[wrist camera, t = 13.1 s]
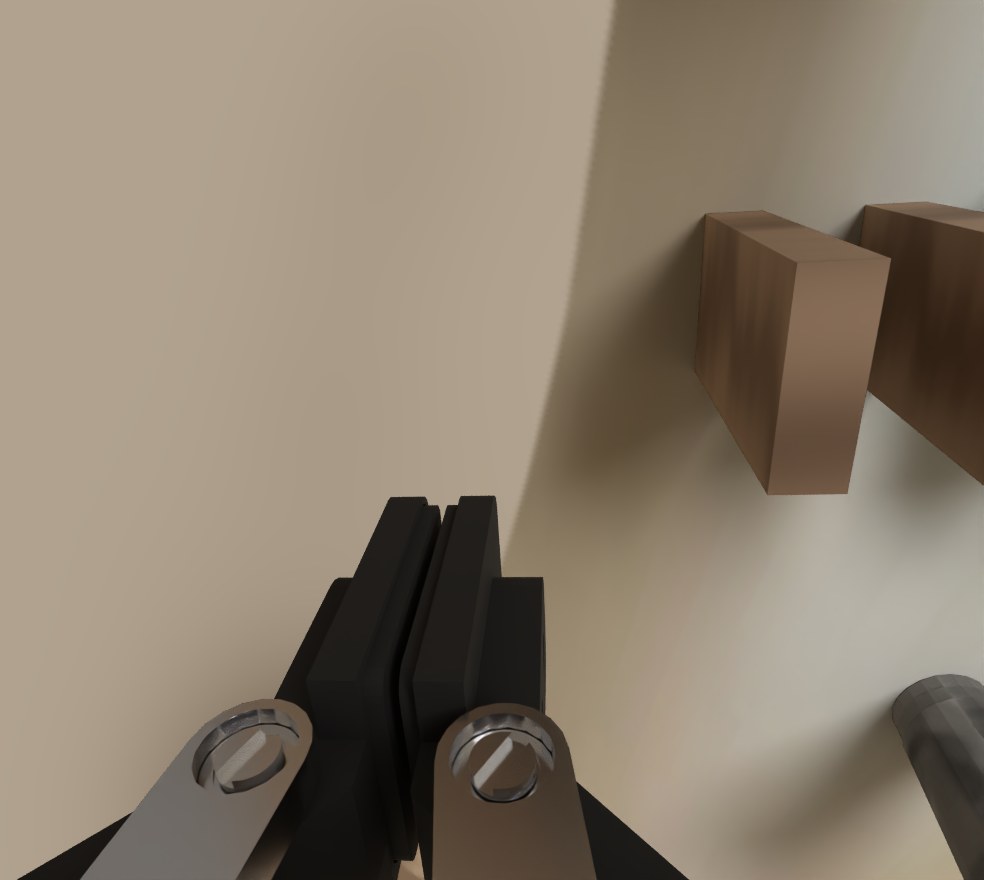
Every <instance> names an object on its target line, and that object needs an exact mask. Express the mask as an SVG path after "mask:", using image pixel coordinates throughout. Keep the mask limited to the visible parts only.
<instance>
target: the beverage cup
mask: <svg viewBox="0 0 984 880" xmlns="http://www.w3.org/2000/svg"><path fill="white" fill-rule="evenodd" d="M892 718H893V721H894V723H895V725H896V727H897V729H898V731H899V734H900V736H901V738H902V741H903V746H904V748H905V751H906V753H907V755H908V757H909V759H910V762H911V764H912V766H913V768H914V770H915V773H916V775H917V777H918V779H919V781H920V784H921V786H922V788H923V790H924V793H925V795H926V797H927V799H928V801H929V804H930V806H931V808H932V810H933V812H934V815H935V817H936V819H937V821H938V823H939V826H940V828H941V830H942V832H943V834H944V837H945V839H946V841H947V843H948V845H949V848H950V850H951V852H952V854H953V856H954V859H955V861H956V863H957V865H958V867H959V870H960V872H961V874H962V876H963V878H964V880H984V686H983V685H982V684H981V683H980V682H978V681H976V680H974V679H971V678H969V677H967V676H960V675H953V674H951V675H939V676H934V677H930V678H927V679H924V680H921V681H919V682H917V683H915V684H914V685H912V686H910V687H908V688H907V689H906V690H905V691H904V692H903V693H902V694H901V695H900V696H899V697H898V698H897V700H896V702H895V704H894V706H893V713H892Z"/></svg>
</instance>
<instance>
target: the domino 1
mask: <svg viewBox="0 0 984 880" xmlns="http://www.w3.org/2000/svg"><path fill="white" fill-rule="evenodd" d="M890 262H891V258H889V257H886V256H883V255H881V254H878V253H875V252H872V251H870V250H867V249H864V248H862V247H859V246H856V245H854V244H851V243H848V242H846V241H843V240H840V239H838V238H835V237H832V236H830V235H827V234H824V233H822V232H819V231H816V230H813V229H811V228H808V227H805V226H803V225H800V224H797V223H795V222H792V221H789V220H787V219H784V218H781V217H779V216H776V215H773V214H771V213H768V212H765V211H747V212H728V213H710V214H706V216H705V230H704V244H703V259H702V273H701V288H700V302H699V317H698V331H697V345H696V360H695V372H696V374H697V376H698V377H699V379H700V381H701V382H702V384H703V386H704V388H705V389H706V391H707V393H708V394H709V396H710V398H711V400H712V401H713V403H714V405H715V406H716V408H717V410H718V411H719V413H720V415H721V417H722V418H723V420H724V422H725V423H726V425H727V427H728V429H729V430H730V432H731V434H732V435H733V437H734V439H735V440H736V442H737V444H738V446H739V447H740V449H741V451H742V452H743V454H744V456H745V458H746V459H747V461H748V463H749V464H750V466H751V468H752V469H753V471H754V473H755V475H756V476H757V478H758V480H759V481H760V483H761V485H762V487H763V488H764V490H765V492H766V493H767V495H808V494H847V493H848V487H849V482H850V477H851V471H852V466H853V460H854V455H855V450H856V444H857V439H858V434H859V428H860V423H861V418H862V412H863V407H864V402H865V396H866V391H867V386H868V380H869V375H870V369H871V364H872V359H873V353H874V348H875V343H876V337H877V332H878V327H879V321H880V316H881V311H882V305H883V300H884V295H885V289H886V284H887V278H888V273H889V268H890Z"/></svg>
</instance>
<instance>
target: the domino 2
mask: <svg viewBox="0 0 984 880" xmlns="http://www.w3.org/2000/svg"><path fill="white" fill-rule="evenodd" d="M859 247H862V248H864V249H867V250H870V251H872V252H875V253H878V254H881V255H883V256H886V257H889V258H891V262H890V268H889V273H888V278H887V284H886V289H885V295H884V300H883V305H882V311H881V316H880V321H879V327H878V332H877V337H876V343H875V348H874V353H873V359H872V364H871V369H870V375H869V380H868V386H867V390H868V391H869V392H870V393H872V394H873V395H874V396H875V397H876V398H878V399H879V400H880V401H881V402H883V403H884V404H885V405H886V406H887V407H889V408H890V409H891V410H892V411H894V412H895V413H896V414H897V415H898V416H900V417H901V418H902V419H903V420H904V421H906V422H907V423H908V424H909V425H911V426H912V427H913V428H914V429H915V430H917V431H918V432H919V433H920V434H922V435H923V436H924V437H925V438H926V439H928V440H929V441H930V442H931V443H932V444H934V445H935V446H936V447H937V448H939V449H940V450H941V451H942V452H943V453H945V454H946V455H947V456H948V457H950V458H951V459H952V460H953V461H954V462H956V463H957V464H958V465H959V466H961V467H962V468H963V469H964V470H965V471H967V472H968V473H969V474H970V475H971V476H973V477H974V478H975V479H976V480H978V481H979V482H980V483H981V484H982V485H984V212H979V211H973V210H968V209H962V208H957V207H952V206H946V205H941V204H935V203H930V202H912V203H893V204H875V205H866V207H865V213H864V219H863V225H862V231H861V237H860V243H859Z"/></svg>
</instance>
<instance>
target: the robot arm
mask: <svg viewBox="0 0 984 880" xmlns="http://www.w3.org/2000/svg"><path fill="white" fill-rule="evenodd" d="M545 694H546V642H545V606H544V583H543V577H502V575H501V560H500V545H499V531H498V516H497V504H496V497H495V496H461V497H460V499H459V503H458V505H448V506H447V508H446V511H445V515H444V518H443V522H442V524H441V515H440V509H439V507H438V505H434V506H433V505H432V506H431V505H430V506H429V505H428V502H427V499H426V497H391V498H390V499H389V500H388V502H387V504H386V507H385V509H384V511H383V513H382V515H381V518H380V520H379V522H378V524H377V526H376V528H375V531H374V533H373V535H372V537H371V539H370V542H369V544H368V546H367V548H366V550H365V552H364V555H363V557H362V559H361V561H360V563H359V565H358V568H357V570H356V572H355V574H354V577H353V578H338V579H336V580H334V582H333V583H332V585H331V586H330V588H329V590H328V592H327V594H326V596H325V598H324V600H323V602H322V604H321V606H320V608H319V610H318V612H317V614H316V616H315V618H314V620H313V622H312V624H311V626H310V628H309V630H308V632H307V634H306V636H305V638H304V640H303V642H302V644H301V646H300V648H299V650H298V652H297V654H296V656H295V658H294V660H293V662H292V664H291V666H290V668H289V670H288V672H287V674H286V676H285V678H284V680H283V682H282V684H281V686H280V688H279V690H278V692H277V694H276V696H275V698H274V699H260V700H256V701H251V702H247V703H242V704H240V705H238V706H236V707H233V708H231V709H228V710H226V711H224V712H222V713H221V714H219V715H218V716H216V717H215V718H213V719H212V720H210V721H209V722H207V723H206V724H205V725H204V726H203V727H202V728H201V729H200V730H199V731H198V732H197V733H196V734H195V735H194V736H193V737H192V738H191V739H190V740H189V741H188V743H187V744H186V745H185V746H184V748H183V749H182V750H181V752H180V753H179V754H178V755H177V757H176V758H175V759H174V760H173V762H172V763H171V764H170V766H169V767H168V768H167V769H166V771H165V772H164V773H163V775H162V776H161V777H160V778H159V780H158V781H157V782H156V784H155V785H154V786H153V787H152V788H151V790H150V791H149V792H148V794H147V795H146V796H145V797H144V799H143V800H142V801H141V803H140V804H139V805H138V806H137V808H136V809H135V810H134V811H133V812H132V813H130V814H128V815H127V816H125V817H123V818H122V819H120V820H118V821H116V822H115V823H113V824H112V825H110V826H108V827H106V828H104V829H103V830H101V831H100V832H98V833H96V834H94V835H93V836H91V837H89V838H87V839H86V840H84V841H82V842H81V843H79V844H77V845H75V846H74V847H72V848H70V849H69V850H67V851H65V852H63V853H62V854H60V855H58V856H57V857H55V858H54V859H52V860H50V861H48V862H46V863H45V864H43V865H41V866H40V867H38V868H36V869H35V870H33V871H31V872H30V873H28V874H26V875H24V876H23V877H21V878H19V879H17V880H397V878H398V873H399V868H400V864H401V860H403V861H413V860H414V858H415V855H416V852H417V847H418V842H419V847H420V854H421V860H422V866H423V872H424V879H425V880H689V879H687V878H686V877H685V876H684V875H683V874H682V873H681V872H679V871H678V870H677V869H676V868H675V867H674V866H673V865H671V864H670V863H669V862H668V861H667V860H666V859H665V858H663V857H662V856H661V855H660V854H659V853H658V852H657V851H655V850H654V849H653V848H652V847H651V846H650V845H649V844H647V843H646V842H645V841H644V840H643V839H642V838H641V837H639V836H638V835H637V834H636V833H635V832H634V831H632V830H631V829H630V828H629V827H628V826H627V825H626V824H624V823H623V822H622V821H621V820H620V819H619V818H618V817H616V816H615V815H614V814H613V813H612V812H611V811H610V810H608V809H607V808H606V807H605V806H604V805H603V804H602V803H600V802H599V801H598V800H597V799H596V798H595V797H594V796H592V795H591V794H590V793H589V792H588V791H587V790H586V789H584V788H583V787H582V786H581V785H580V784H579V783H578V782H576V778H575V773H574V769H573V764H572V759H571V754H570V750H569V746H568V744H567V742H566V739H565V737H564V734H563V732H562V731H561V729H560V728H559V727H558V726H557V725H556V724H555V723H554V722H553V720H552V719H551V718H549V717H548V716H546V715H545Z"/></svg>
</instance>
